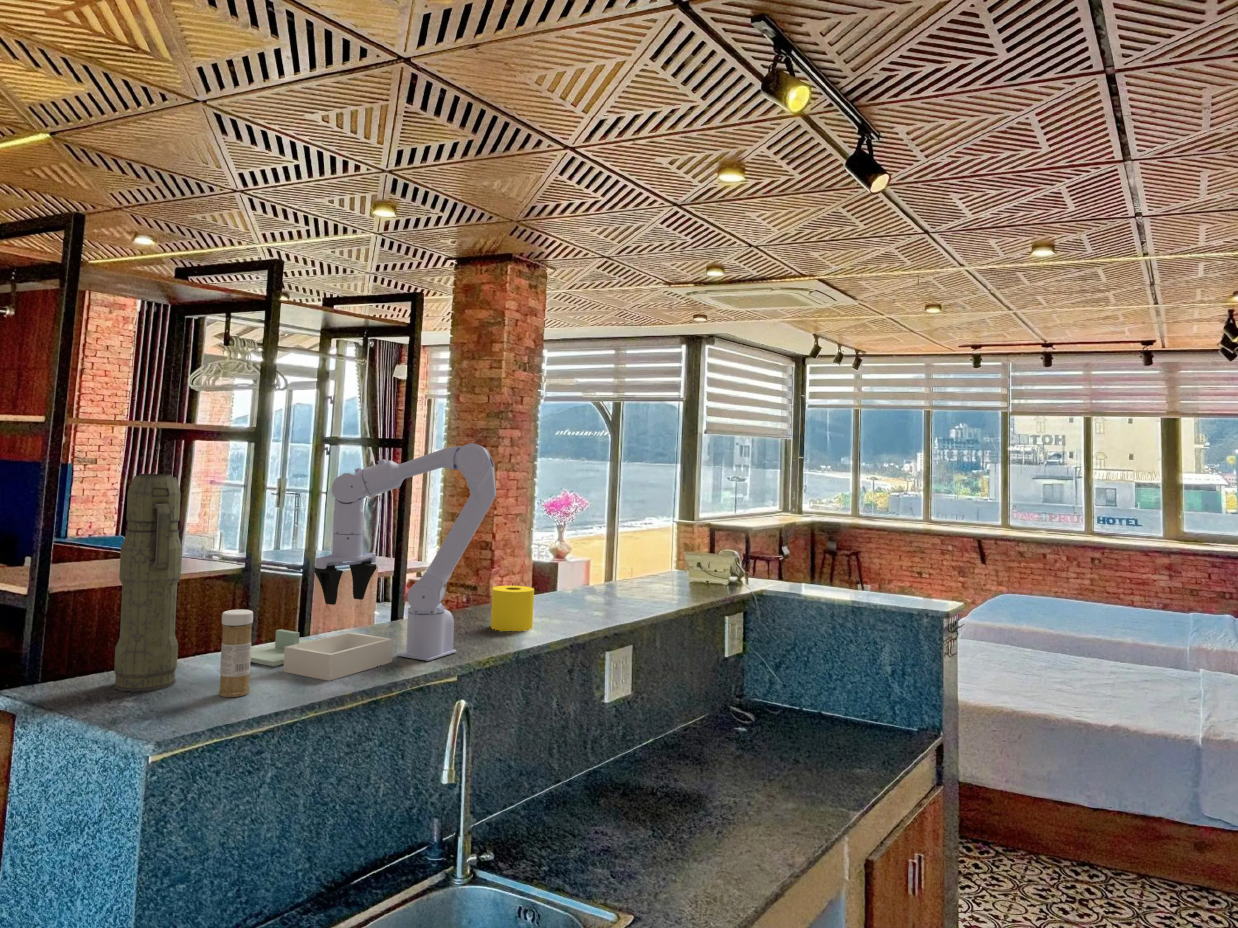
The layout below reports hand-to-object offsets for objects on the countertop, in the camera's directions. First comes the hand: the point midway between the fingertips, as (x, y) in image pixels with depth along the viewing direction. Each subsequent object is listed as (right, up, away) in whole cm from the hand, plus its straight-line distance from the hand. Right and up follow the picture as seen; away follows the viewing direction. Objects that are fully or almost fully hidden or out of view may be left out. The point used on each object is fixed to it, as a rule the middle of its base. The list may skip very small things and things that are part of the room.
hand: (344, 601), depth 157 cm
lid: (-10, -10, -3) cm, 15 cm away
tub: (+3, -10, -10) cm, 15 cm away
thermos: (-24, -9, -27) cm, 37 cm away
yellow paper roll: (+29, -12, +33) cm, 45 cm away
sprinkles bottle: (-8, -10, -30) cm, 32 cm away
